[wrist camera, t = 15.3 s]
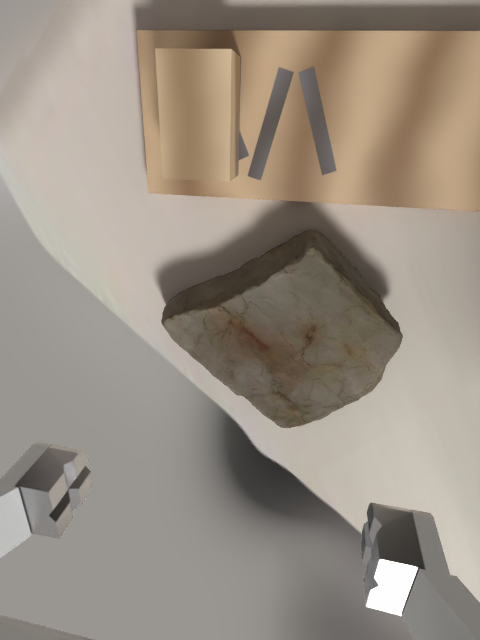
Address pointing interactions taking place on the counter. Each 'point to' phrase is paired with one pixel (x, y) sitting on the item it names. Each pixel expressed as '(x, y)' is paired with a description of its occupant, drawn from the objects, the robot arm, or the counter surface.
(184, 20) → the counter surface
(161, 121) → the block
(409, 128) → the board
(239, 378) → the marble piece
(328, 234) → the counter surface
